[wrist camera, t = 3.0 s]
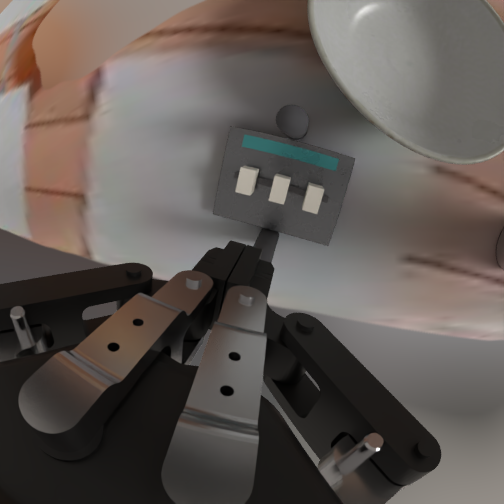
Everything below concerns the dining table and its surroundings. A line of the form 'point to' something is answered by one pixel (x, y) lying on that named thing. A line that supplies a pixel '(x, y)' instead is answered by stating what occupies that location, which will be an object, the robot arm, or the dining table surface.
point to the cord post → (267, 243)
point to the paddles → (279, 189)
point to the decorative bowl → (419, 71)
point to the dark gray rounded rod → (292, 121)
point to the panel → (301, 172)
